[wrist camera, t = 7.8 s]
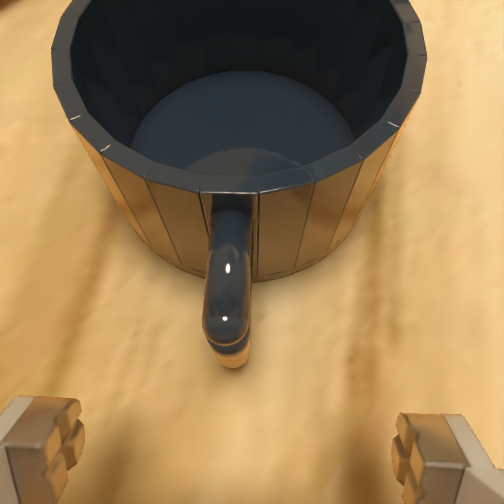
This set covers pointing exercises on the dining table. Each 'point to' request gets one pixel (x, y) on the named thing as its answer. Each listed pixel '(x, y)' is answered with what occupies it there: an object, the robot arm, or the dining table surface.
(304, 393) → the dining table surface
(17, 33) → the dining table surface
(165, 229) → the coffee mug
